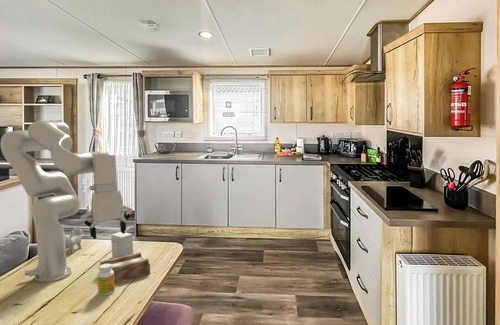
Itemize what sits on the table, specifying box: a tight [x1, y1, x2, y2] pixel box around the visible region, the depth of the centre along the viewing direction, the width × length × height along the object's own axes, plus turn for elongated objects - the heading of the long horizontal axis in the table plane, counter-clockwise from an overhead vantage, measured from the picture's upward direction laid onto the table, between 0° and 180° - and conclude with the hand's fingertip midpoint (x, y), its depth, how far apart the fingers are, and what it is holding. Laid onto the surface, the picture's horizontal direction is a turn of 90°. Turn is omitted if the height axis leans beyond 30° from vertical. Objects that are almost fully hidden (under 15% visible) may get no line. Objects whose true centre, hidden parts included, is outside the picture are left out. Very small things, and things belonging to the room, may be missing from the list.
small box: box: [110, 231, 134, 258], centre depth 154 cm, size 8×6×10 cm
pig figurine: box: [65, 225, 83, 255], centre depth 162 cm, size 5×13×11 cm, turn 0°
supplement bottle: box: [97, 264, 116, 296], centre depth 121 cm, size 5×5×10 cm
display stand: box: [99, 252, 151, 284], centre depth 136 cm, size 16×12×6 cm
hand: (108, 235), depth 121 cm, fingers open, 9 cm apart
